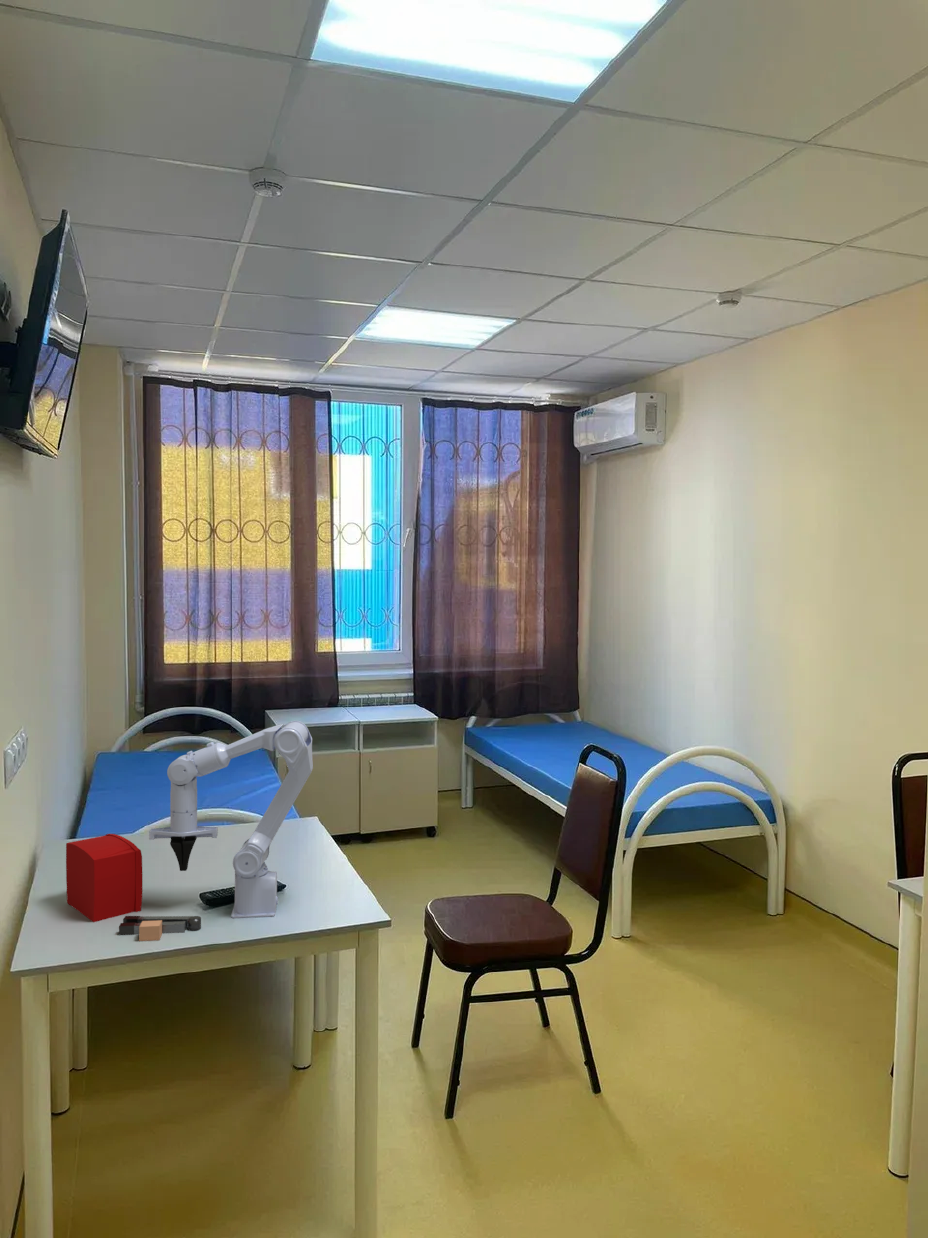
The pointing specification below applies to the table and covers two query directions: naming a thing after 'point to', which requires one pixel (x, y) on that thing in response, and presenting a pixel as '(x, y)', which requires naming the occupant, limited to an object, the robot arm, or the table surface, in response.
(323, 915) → the table surface
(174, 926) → the tongs handle
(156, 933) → the block
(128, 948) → the table surface
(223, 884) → the table surface
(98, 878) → the red curved-top box
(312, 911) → the table surface
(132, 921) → the tongs arm
